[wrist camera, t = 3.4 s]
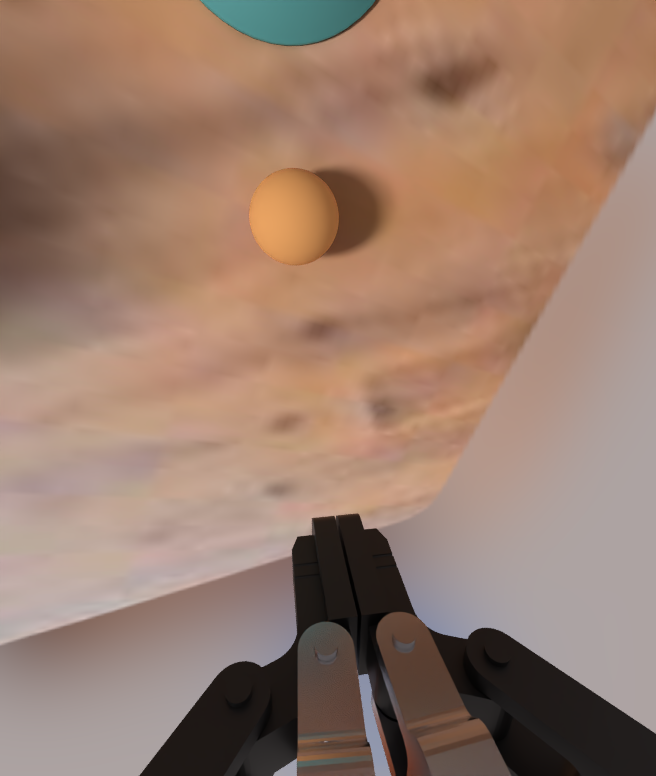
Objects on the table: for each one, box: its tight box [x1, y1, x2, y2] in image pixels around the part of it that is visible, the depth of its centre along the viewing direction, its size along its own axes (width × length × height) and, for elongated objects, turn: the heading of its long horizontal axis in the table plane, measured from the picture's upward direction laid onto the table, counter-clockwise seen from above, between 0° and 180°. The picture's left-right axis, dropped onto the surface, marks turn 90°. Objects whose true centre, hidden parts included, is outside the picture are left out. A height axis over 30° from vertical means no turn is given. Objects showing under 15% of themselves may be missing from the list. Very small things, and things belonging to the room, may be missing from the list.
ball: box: [249, 168, 339, 265], centre depth 22 cm, size 5×5×5 cm
